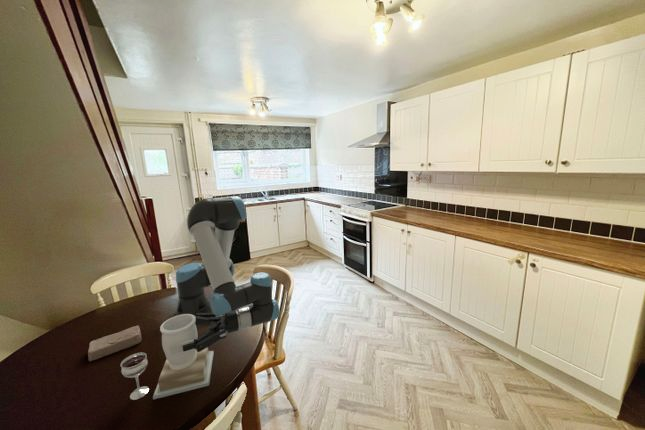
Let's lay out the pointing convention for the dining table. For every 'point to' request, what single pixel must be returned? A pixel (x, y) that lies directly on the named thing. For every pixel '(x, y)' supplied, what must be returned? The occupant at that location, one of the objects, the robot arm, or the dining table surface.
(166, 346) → the jar
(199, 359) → the plinth
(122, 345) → the brick
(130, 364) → the wineglass
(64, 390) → the dining table surface
